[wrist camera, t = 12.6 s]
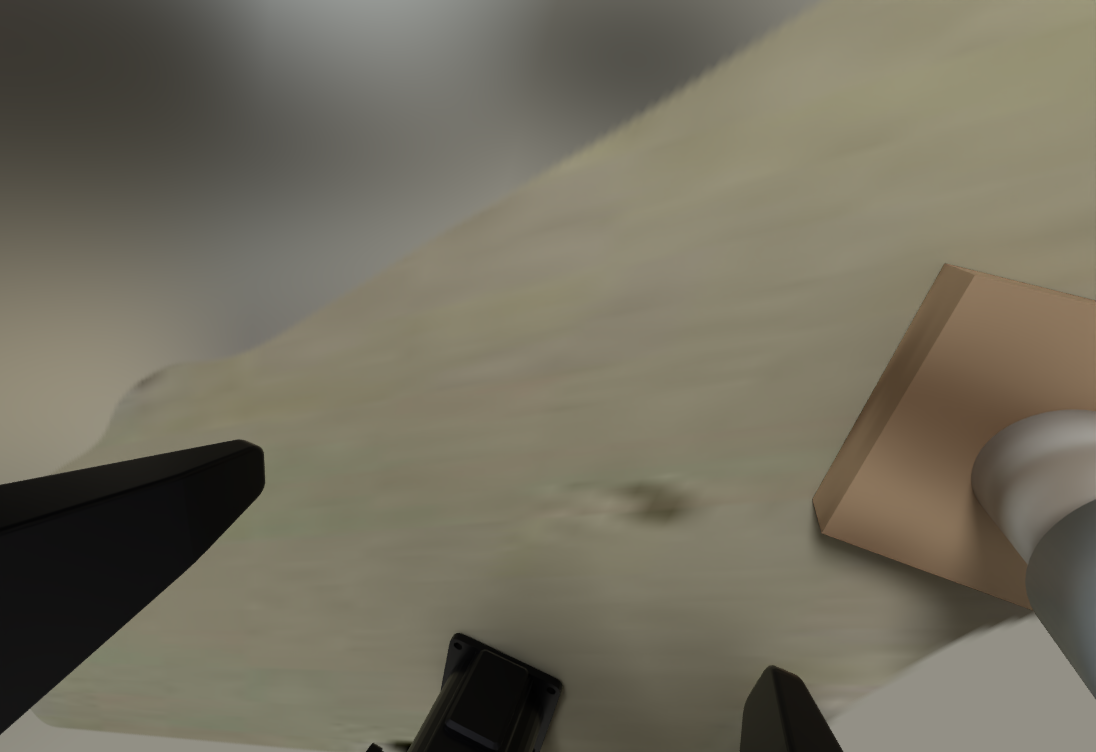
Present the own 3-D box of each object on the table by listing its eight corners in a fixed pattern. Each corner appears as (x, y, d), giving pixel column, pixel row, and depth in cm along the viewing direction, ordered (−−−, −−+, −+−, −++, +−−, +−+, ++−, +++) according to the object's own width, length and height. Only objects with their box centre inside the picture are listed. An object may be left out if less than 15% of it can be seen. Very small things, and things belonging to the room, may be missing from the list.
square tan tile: (1089, 597, 17) (1266, 800, 11) (812, 499, 18) (849, 632, 13) (1323, 357, 13) (1764, 489, 7) (944, 263, 15) (1074, 314, 9)
